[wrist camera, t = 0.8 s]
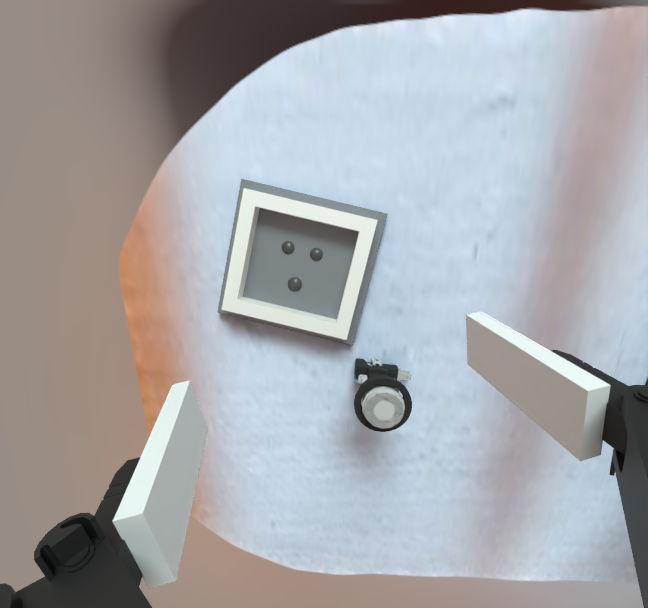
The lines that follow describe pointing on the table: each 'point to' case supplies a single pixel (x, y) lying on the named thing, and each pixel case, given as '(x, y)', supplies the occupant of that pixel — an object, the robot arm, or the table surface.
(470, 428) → the table surface
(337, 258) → the socket plate
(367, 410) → the push button
